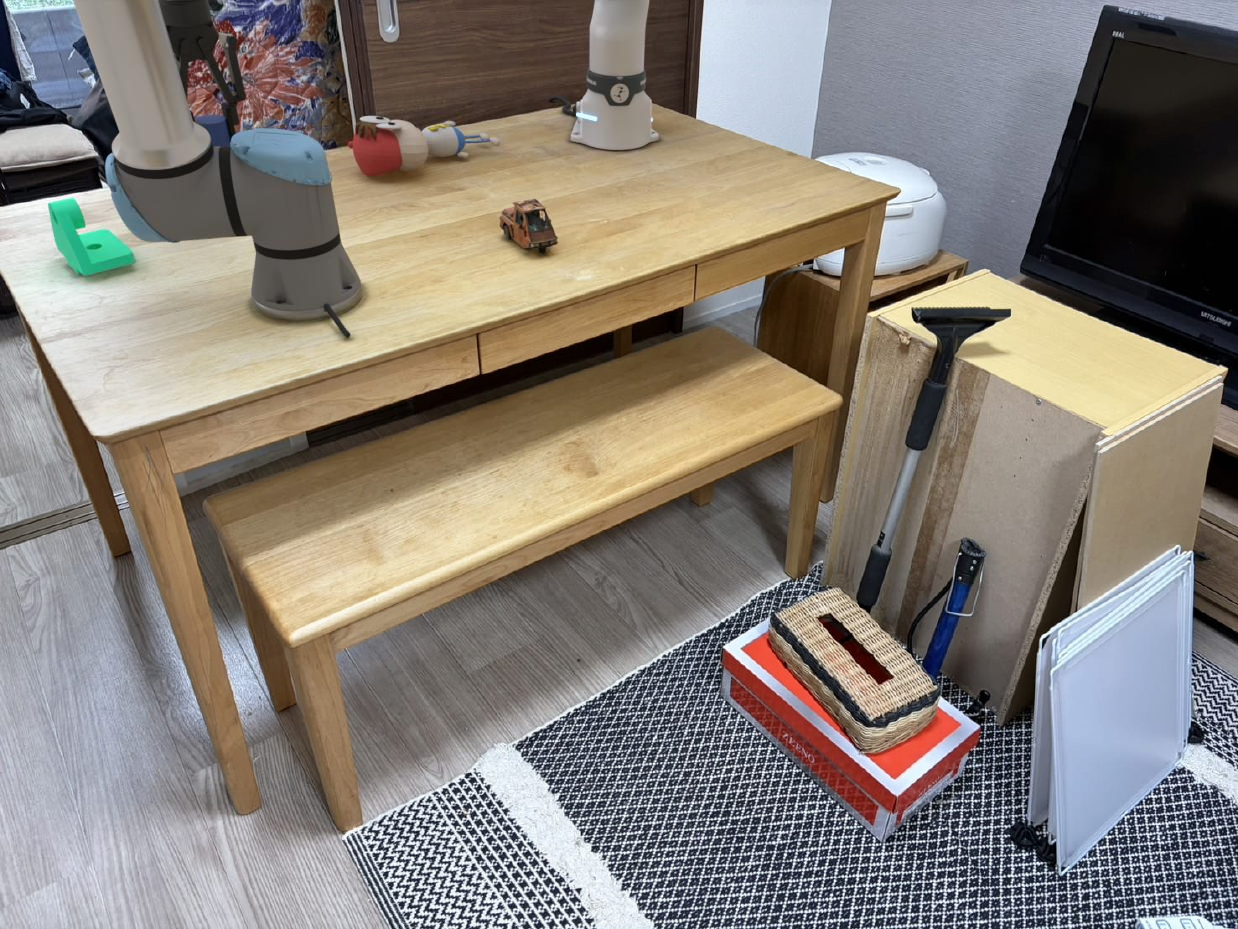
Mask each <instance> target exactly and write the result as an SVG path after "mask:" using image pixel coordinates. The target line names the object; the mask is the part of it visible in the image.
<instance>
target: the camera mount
mask: <svg viewBox="0 0 1238 929" xmlns="http://www.w3.org/2000/svg"><path fill="white" fill-rule="evenodd" d="M47 206H48V213H49V217H50V218H49V219H50V223H51V227H52V234H53V239H54V242H55V245H56V248H57V250H58V252H60V253H61V254H62V255H63V257H64V258H65V259H66V262H67V265H68V266H69V267H70V268H71V269H72V270H73V271H74V272H75V273H76V274H77V275H78V276H79V275H82V276H83V277H87V276H91V275H95V274H98V273H102V272H106V271H110V270H114V269H117V268H118V269H119V268H121V267H126V266H130V265H133V264H134V263H135V262H136V258H135V256H134V252H133V250H132V249H131V248H130V247H128V245H126V244H125V243H124V242H123V241H122V240H121V239H120V238H118V237H117V236H116V235H115V234H114V233H113V232H112V231H110V229H106V228H104V229H103V228H102V229H97V230H94V231H89V232H85V233H84V232H83V233H81V234H79V233H78V231H77V230H81V229H84V228H85V229H86V226H87V225H86V221H85V216H84V214H83V212H82V210H81V207H80V205H79V204H78V202H77V200H76V199H75V198H74V197H70V198H65V199H61V200H56V201H51V202H48V203H47Z"/></svg>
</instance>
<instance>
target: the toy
mask: <svg viewBox="0 0 1238 929" xmlns="http://www.w3.org/2000/svg"><path fill="white" fill-rule="evenodd" d="M359 120H360V121H359V122H358V121H357V122H356V124H355V126H354V132H355V133H354V134H353V138H352V140H350V141H349V142H348V143H347V147H348V148H349V149H350V150H351V149H352V154H353V157H354V160H355V163H356V164H357V167H358V168H359V170H360V172H361V173H362V174H363V175H365V176H367V177H378V176H383V175H387V174H390V173H394V172H396V171H401V172H411V171H415V170H418V169H419V168H421V167H422V166H423V165H424V163H425V162H426V160H427V159H428V155H429V156H432V157H436V158H437V157H438V158H446V157H452V156H454V155H456V156H457V157H458V158H459V159H460V158H461V159H465V158H468V157H469V155H470V154H469V153H468V152H466V151H463V150H464V148H465V147H466V144H483V143H490V144H491V145H492V146H494V147H497V148H498V147H500V146H501V144H502V143H501V140H500V139H499V138H498V137H494V136H492V137H490V135H489V134H488V133H485V132H480V133H479V134H475V135H464V133H463V132H462V130H460V129H458V128H457V127H455V126H456V122H455V121H454V120H453V121H452V120H446V121H444V122H440V123H436V124H432V125H429V126H426V127H425V128H424V129H422V130H421V129H419V128H418V127H417V125H416V124H414V123H412V122H410V121H407V120H404V119H401V118H400V119H390V118H387V117H385V116H379V115H365V116H361V117H360V118H359ZM478 138H479V140H467V139H478Z"/></svg>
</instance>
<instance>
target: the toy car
mask: <svg viewBox="0 0 1238 929" xmlns="http://www.w3.org/2000/svg"><path fill="white" fill-rule="evenodd" d="M512 205H513V206H511V207H506V208H504V209H503V210H502V211H501V215H500V216H499V228H500V229H501V230H503V235H504V237H505V239H506V240H511V241H514V242H515V243H516V244H518V245H519V246H520V247H521V248H522V249H524V250H527V251H531V250H535V249H537V250H538V253H539V254H541V255H545V254H546V253H547V249H548V248H552V247H553V246H556V245H558V244H559V242H558V239H559V237H558V236H557V234H556V231H555V229H554V227H553V224H552V219H550V217H549V215H548V213H547V208H546V207H545V206H544V205H543V204H542V203H540V202H539V199H537V198H529V199H528V198H527V199H524V200H523V199H522V200H517V201H513V202H512ZM541 212H542V213H544V216H543V214H541ZM541 216H542V217H541Z"/></svg>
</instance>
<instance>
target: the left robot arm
mask: <svg viewBox="0 0 1238 929" xmlns="http://www.w3.org/2000/svg"><path fill="white" fill-rule="evenodd" d="M72 2H73V4H74V7H75V10H76V12H77V13H76V14H77V16H78V18H79V21H80V25H81V28H82V30H83V33H84V36H85V39H86V42H87V44H88V47H89V50H90V52H91V56H92V59H93V61H94V65H95V67H96V69H97V73H98V75H99V78H100V80H101V84H102V87H103V89H104V92H105V95H106V98H107V100H108V104H109V106H110V110H111V112H112V115H113V118H114V121H115V123H116V126H117V129H118V131H119V132H118V134H117V135H116V136H115V137H114V139H113V140H112V143H111V150H112V152H111V153H110V154H108V155H107V157H106V159H105V165H104V170H105V179H106V182H107V186H108V187H109V189H110V197H111V199H112V202H113V206H114V207H115V209H116V212H117V213H118V215H119V217H120V219H121V221H122V222H123V224H124V225H125V227H126V228H127V229H128V231H129V232H130V233H131V234H132V235H133V236H134V237H136V238H137V239H139V240H141V241H144V242H147V243H171V244H179V243H181V242H187V241H199V240H200V241H201V240H214V239H226V238H236V237H237V238H238V237H239V238H240V237H252V238H251V239H252V242H253V247H254V251H255V258H254V264H253V273H252V283H251V291H250V293H251V299H252V303H253V307H254V309H255V310H256V311H257V313H259V314H260V315H262V316H264V317H266V318H268V319H271V320H275V321H281V322H289V323H304V322H314V321H315V322H316V321H320V320H326V319H330V318H331V320H332V321H333V322H334V324H335V326H336V327H337V328H338V330H339V331H340V332H341V333H342V335H343V336H344V337H345V338H347V339H349V338H350V337H351V336H352V334H351V333H350V332H349V330H348V329H347V328H346V326H345V325H344V323H343V322H342V321H341V319H340V318H339V316H338V315H341V314H343V313H345V312H348V311H349V310H351V309H353V308H354V307H355V306H356V305H357V304H358V303H359V302H360V301H361V298H362V297H363V287H362V282H361V278H360V276H359V274H358V272H357V270H356V268H355V266H354V264H353V263H352V261H351V259H350V257H349V255H348V253H347V251H346V250H345V248H344V245H343V243H342V239H341V233H340V226H339V221H338V214H337V209H336V203H335V196H334V192H333V187H332V182H333V175H332V172H331V171H330V166H329V162H328V158H327V154H326V151H325V149H324V147H323V145H322V144H321V143H320V142H318V141H317V140H316V139H315V138H313V137H311V136H309V135H306V134H304V133H301V132H298V131H294V130H289V129H283V128H272V127H271V128H268V127H264V128H263V127H261V128H252V129H251V130H247V129H245V130H244V129H243V130H241V131H238V132H236V129H235V126H239V125H240V118H239V112H238V109H237V107H238V103H240V102H244V101H246V100H247V94H246V90H245V86H244V81H243V76H242V73H241V68H240V64H239V60H238V56H237V45H238V39H237V37H236V36H234V35H233V34H232V33H230V32H227V33H223V32H219V31H218V29H217V28H216V27H215V25H214V22H213V18H212V12H211V8H210V4H209V0H72ZM218 41H219V44H220V46H221V47H222V48H223V50H224V51H223V52H224V55H225V59H226V60H225V61H226V64H227V68H228V72H229V76H230V81H231V85H232V89H233V92H232V91H231V89H230V87H229V85H228V83H227V81H226V79H225V77H224V75H223V73H222V71H221V69H220V67H219V65H218V62H217V60H216V57H215V56H214V54H213V52H214V49H215V47H216V45H217V43H218ZM195 61H201V62H202V61H204V63H205V64H206V66H207V68H208V71H209V73H210V74H211V76H212V78H213V80H214V82H215V85H216V86H217V88H218V91H219V92H220V94H221V96H222V98H223V100H224V102H225V103H220V108H221V111H222V116H225V117H226V120H227V124H228V129H229V133H230V138H231V142H230V146H223V147H222V146H219V147H213V145H212V141H211V137H210V135H209V133H208V131H207V130H206V129H205V128H204V127H202V126H201V125H199V124H197V123H195V115H194V112H193V111H192V110H191V109H190V105H189V103H188V94H189V93H188V91H189V90H188V86H189V68H190V63H193V62H195Z"/></svg>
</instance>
